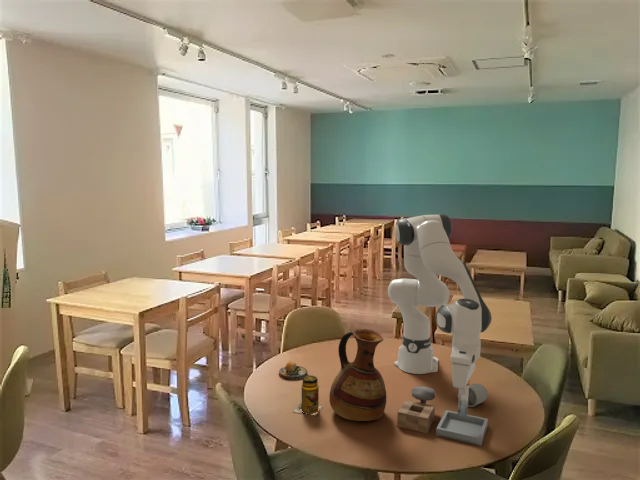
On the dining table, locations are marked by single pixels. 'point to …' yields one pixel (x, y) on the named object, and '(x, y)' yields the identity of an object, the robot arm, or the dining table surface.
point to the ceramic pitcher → (359, 380)
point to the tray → (462, 427)
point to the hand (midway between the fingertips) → (463, 391)
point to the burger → (292, 371)
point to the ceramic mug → (476, 394)
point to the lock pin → (463, 402)
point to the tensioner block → (417, 410)
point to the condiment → (309, 396)
